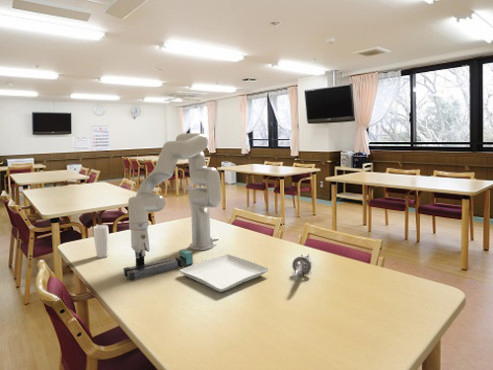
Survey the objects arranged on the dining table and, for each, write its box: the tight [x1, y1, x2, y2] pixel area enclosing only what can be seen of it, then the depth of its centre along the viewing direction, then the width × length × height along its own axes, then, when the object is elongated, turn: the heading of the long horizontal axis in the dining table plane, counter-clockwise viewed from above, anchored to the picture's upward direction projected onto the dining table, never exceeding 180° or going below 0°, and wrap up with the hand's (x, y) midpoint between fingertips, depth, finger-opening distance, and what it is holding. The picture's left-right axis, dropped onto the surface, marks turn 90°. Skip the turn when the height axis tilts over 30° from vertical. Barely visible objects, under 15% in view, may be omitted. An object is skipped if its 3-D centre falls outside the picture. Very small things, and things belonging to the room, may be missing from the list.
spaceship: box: [291, 253, 313, 281], centre depth 145 cm, size 8×35×8 cm
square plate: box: [179, 253, 270, 293], centre depth 145 cm, size 27×27×4 cm
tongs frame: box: [126, 255, 194, 282], centre depth 151 cm, size 29×6×3 cm, turn 128°
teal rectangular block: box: [178, 248, 194, 265], centre depth 159 cm, size 3×7×5 cm, turn 38°
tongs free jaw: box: [123, 257, 175, 278], centre depth 151 cm, size 22×3×3 cm, turn 124°
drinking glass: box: [92, 224, 110, 259], centre depth 169 cm, size 7×7×15 cm
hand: (140, 266), depth 151 cm, fingers closed
